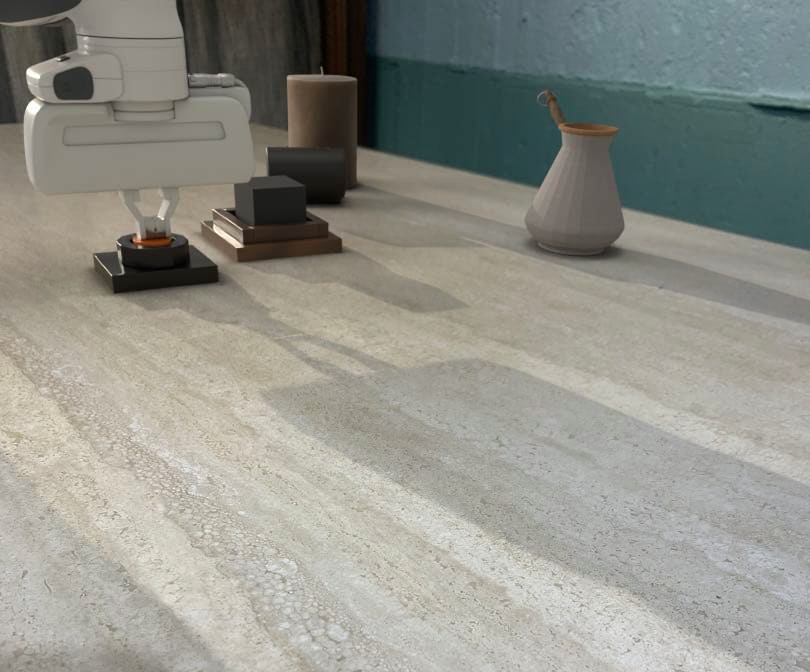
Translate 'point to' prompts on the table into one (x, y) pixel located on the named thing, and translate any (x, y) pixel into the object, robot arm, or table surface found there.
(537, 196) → the coffee pot
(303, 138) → the pillar candle
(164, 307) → the table surface
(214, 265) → the dark piece
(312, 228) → the tray
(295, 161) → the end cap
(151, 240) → the button
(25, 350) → the table surface
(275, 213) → the black block
